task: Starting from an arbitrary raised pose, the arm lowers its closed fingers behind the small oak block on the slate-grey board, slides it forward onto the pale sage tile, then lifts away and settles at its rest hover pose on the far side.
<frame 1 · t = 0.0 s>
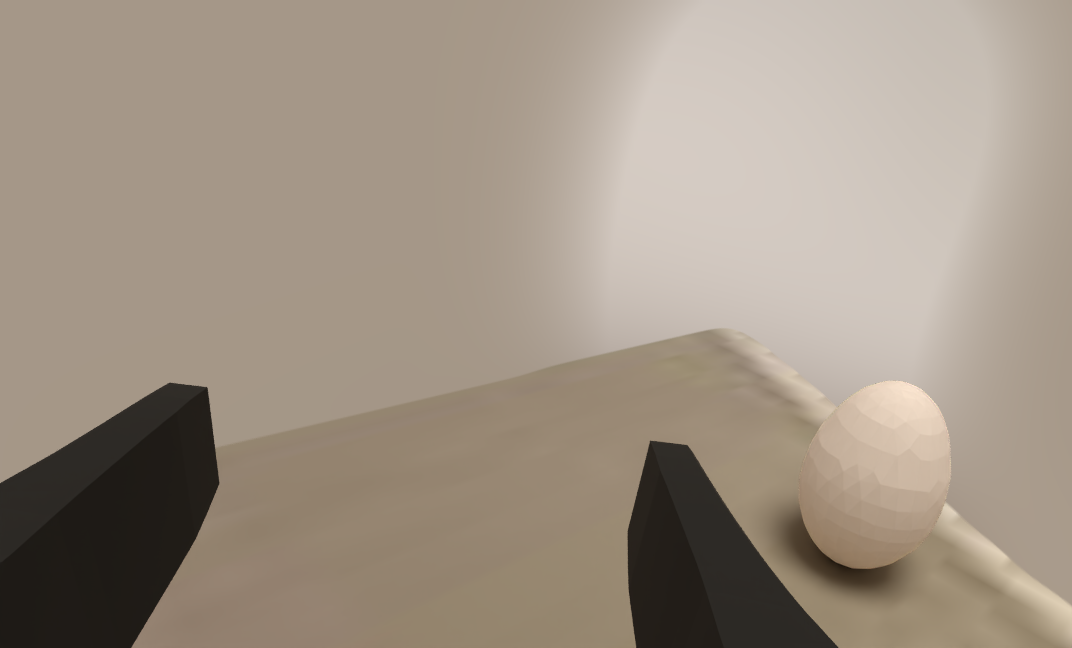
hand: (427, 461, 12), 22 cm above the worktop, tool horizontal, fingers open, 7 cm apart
egg: (841, 558, 45), on the worktop
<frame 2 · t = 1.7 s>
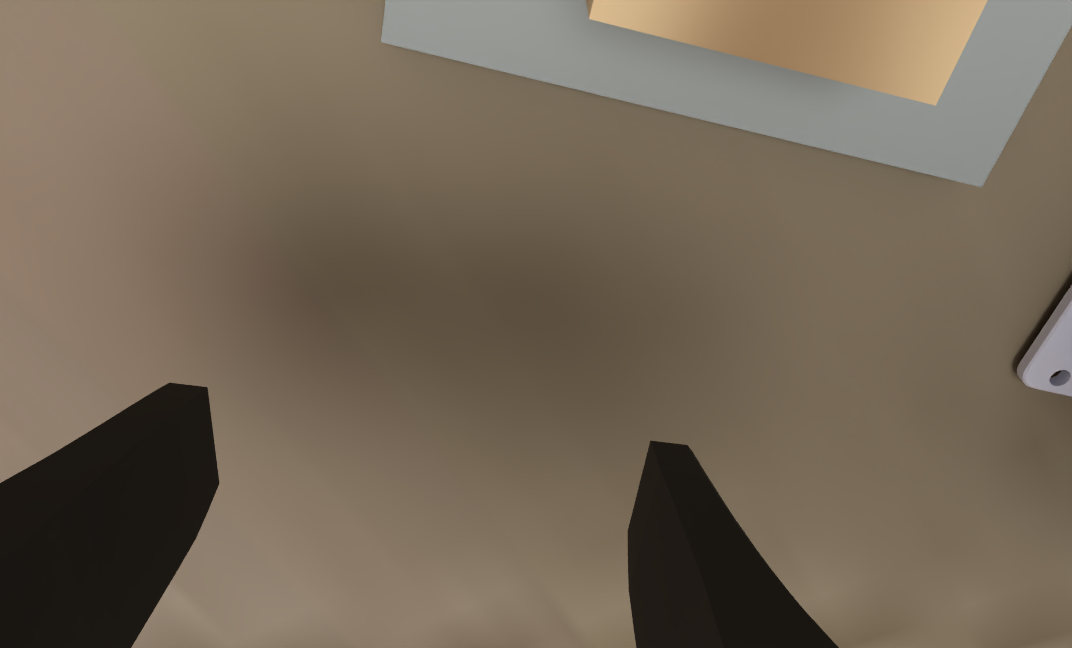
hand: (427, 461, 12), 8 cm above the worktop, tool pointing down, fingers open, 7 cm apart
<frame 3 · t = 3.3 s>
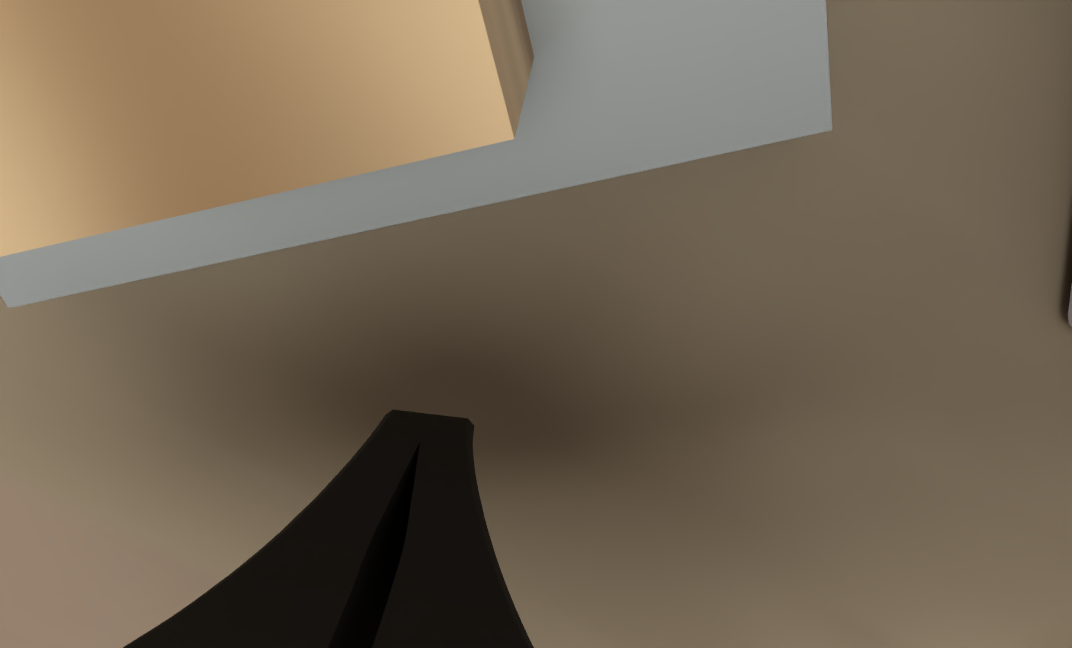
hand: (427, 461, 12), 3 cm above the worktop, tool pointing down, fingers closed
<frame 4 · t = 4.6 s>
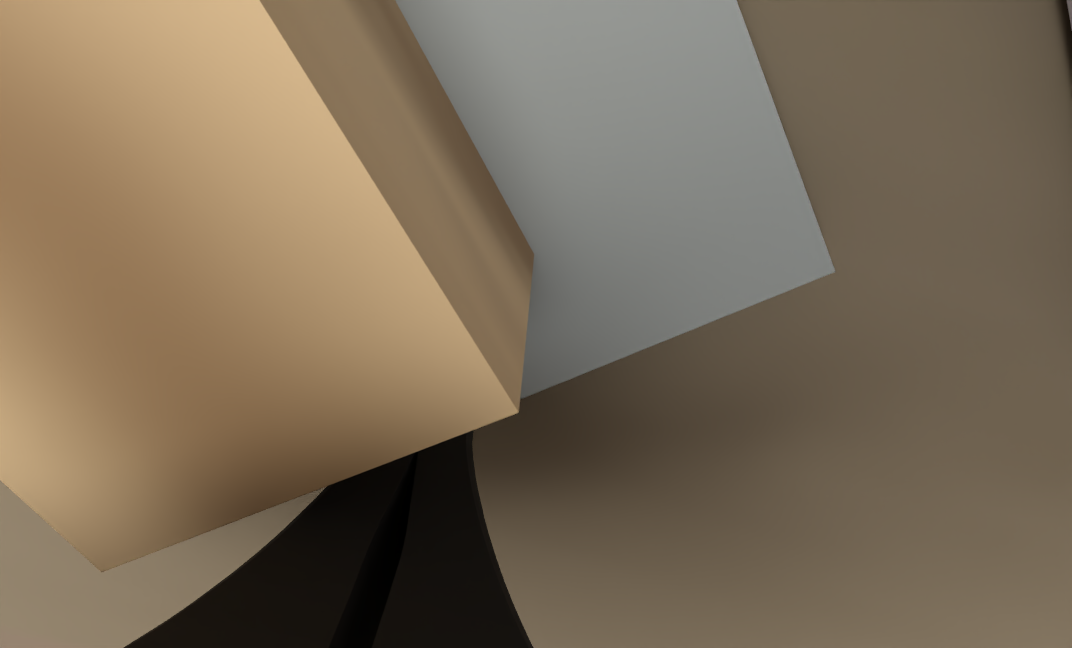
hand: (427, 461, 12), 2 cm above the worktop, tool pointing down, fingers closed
oak block: (258, 166, 11), point 1 cm above the worktop, touching board, gripper
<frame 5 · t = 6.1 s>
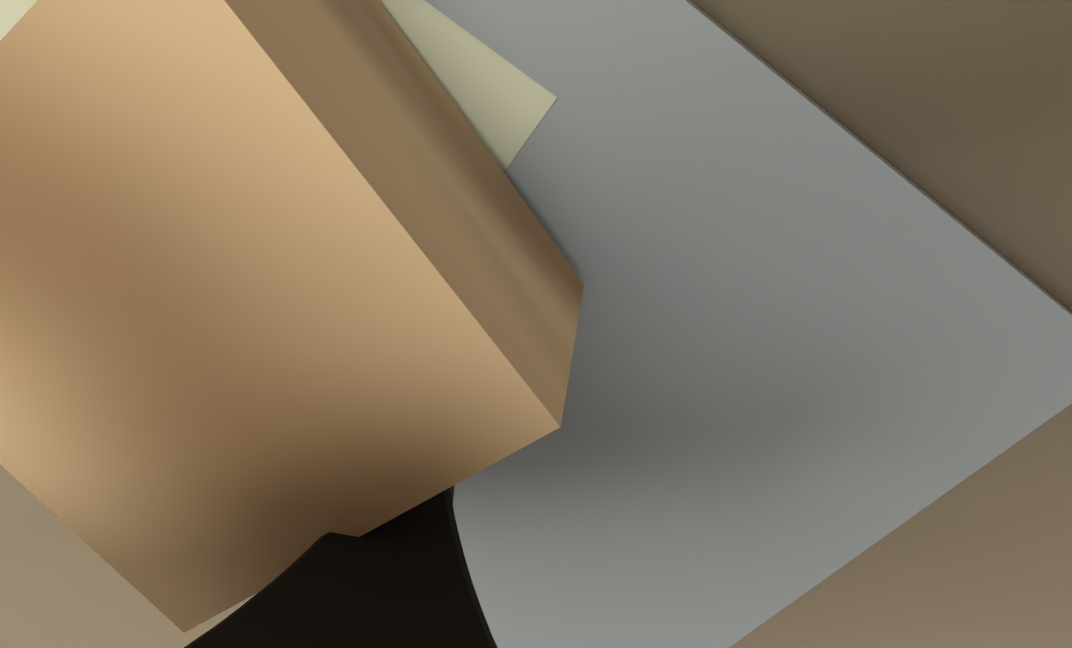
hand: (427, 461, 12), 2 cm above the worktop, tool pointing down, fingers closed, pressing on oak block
board: (375, 294, 14), on the worktop
oak block: (312, 231, 12), point 1 cm above the worktop, tilted 7°, touching board, gripper
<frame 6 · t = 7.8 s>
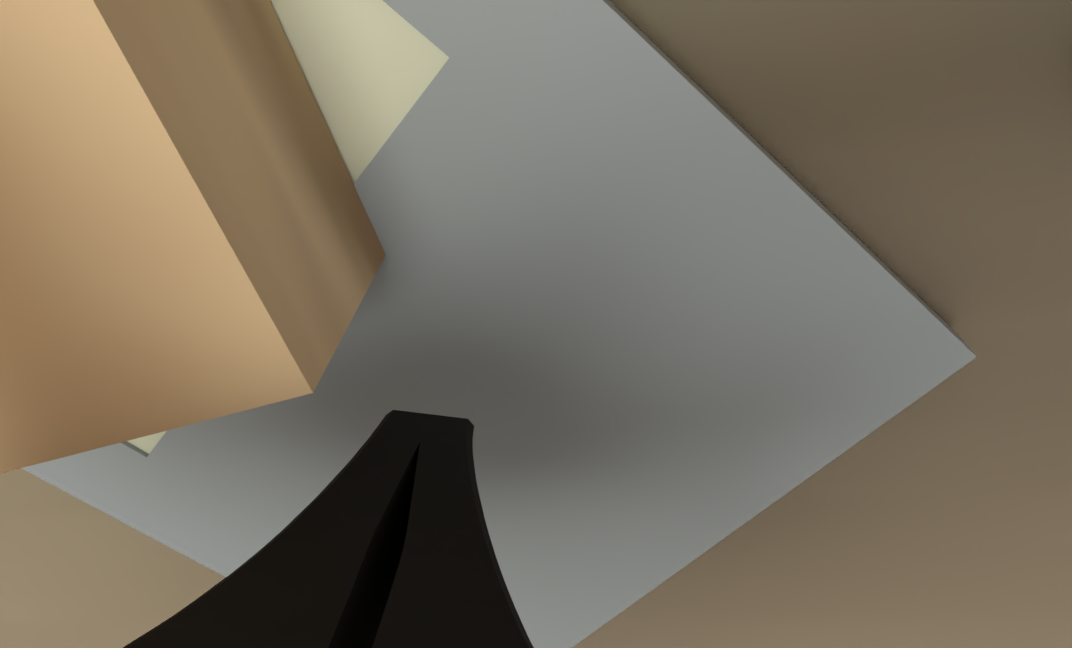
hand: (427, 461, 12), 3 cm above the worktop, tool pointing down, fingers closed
board: (269, 246, 14), on the worktop
oak block: (132, 137, 12), point 1 cm above the worktop, touching board
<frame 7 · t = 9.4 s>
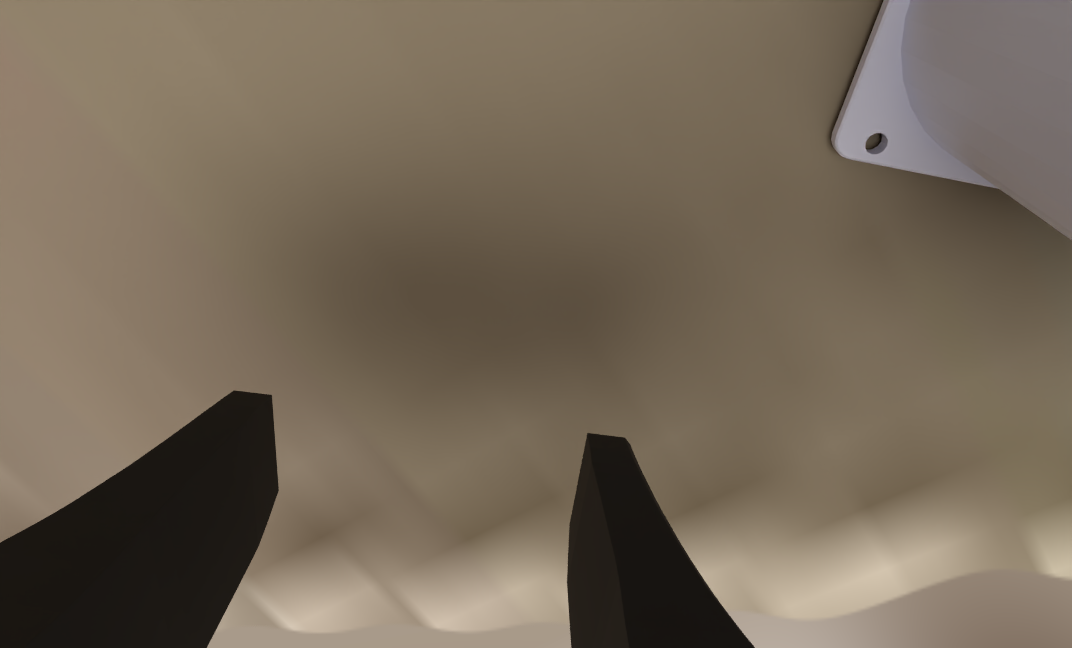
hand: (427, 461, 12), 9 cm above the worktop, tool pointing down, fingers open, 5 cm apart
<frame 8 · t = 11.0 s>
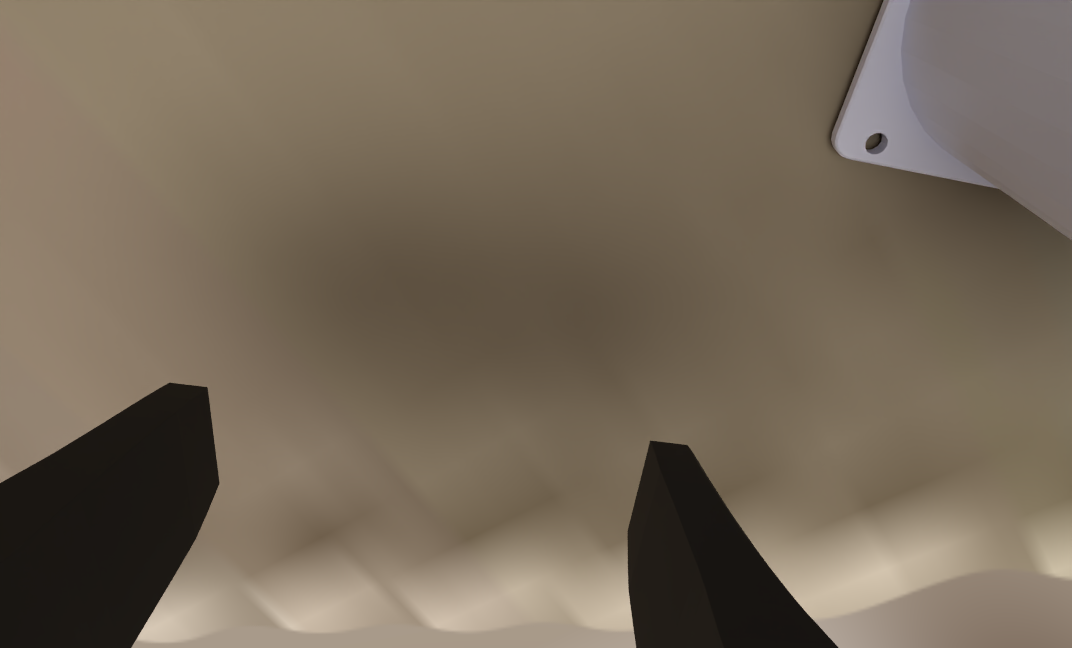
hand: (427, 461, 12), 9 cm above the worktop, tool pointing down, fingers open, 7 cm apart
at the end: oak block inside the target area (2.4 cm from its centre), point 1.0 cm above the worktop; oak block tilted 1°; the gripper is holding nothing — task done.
